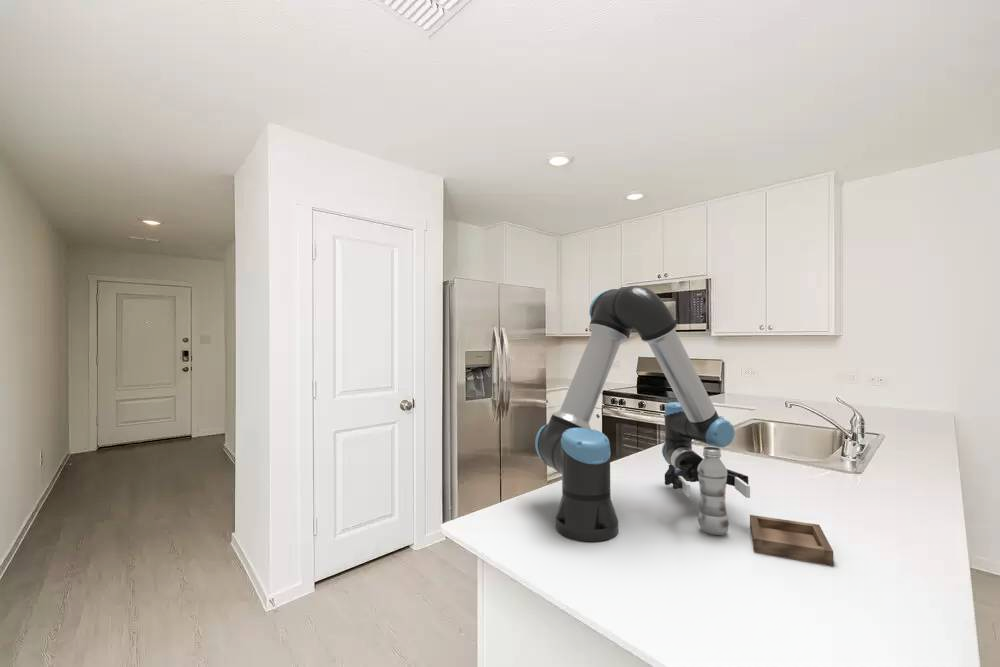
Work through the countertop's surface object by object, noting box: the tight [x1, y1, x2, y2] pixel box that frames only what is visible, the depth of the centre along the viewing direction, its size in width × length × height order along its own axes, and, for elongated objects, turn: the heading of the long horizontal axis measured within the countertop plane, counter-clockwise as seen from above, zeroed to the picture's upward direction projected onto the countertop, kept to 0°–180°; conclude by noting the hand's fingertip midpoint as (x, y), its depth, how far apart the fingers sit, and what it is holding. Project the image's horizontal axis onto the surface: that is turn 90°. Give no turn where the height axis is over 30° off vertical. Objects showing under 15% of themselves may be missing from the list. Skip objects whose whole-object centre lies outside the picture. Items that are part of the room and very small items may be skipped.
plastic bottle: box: [697, 446, 730, 536], centre depth 106 cm, size 6×7×20 cm
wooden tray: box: [749, 514, 835, 567], centre depth 100 cm, size 14×14×3 cm
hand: (718, 491), depth 103 cm, fingers open, 12 cm apart
